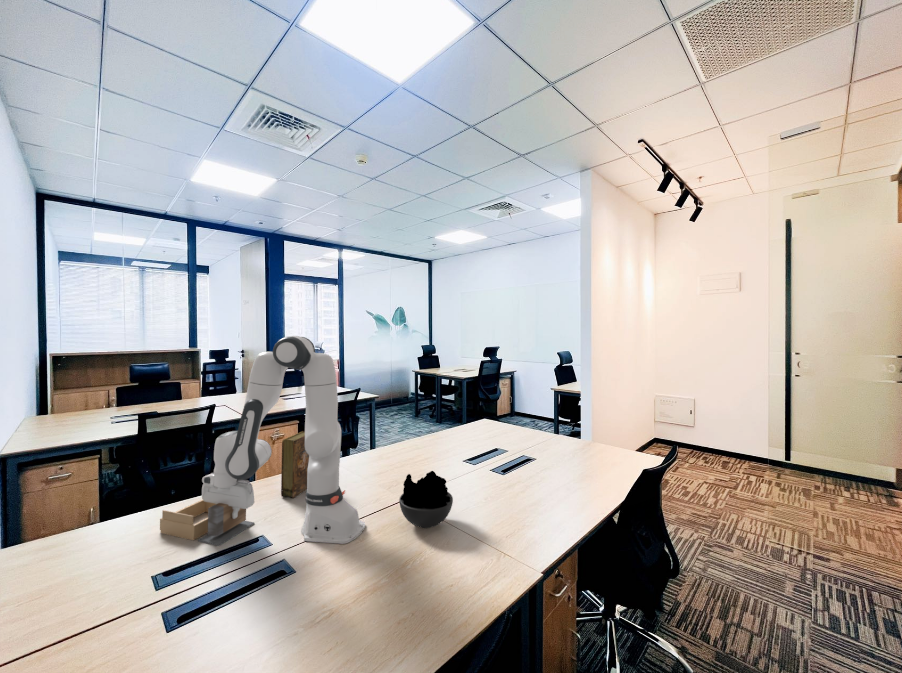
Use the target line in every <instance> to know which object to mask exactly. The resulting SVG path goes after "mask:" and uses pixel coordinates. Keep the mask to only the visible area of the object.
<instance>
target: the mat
mask: <svg viewBox="0 0 902 673" xmlns="http://www.w3.org/2000/svg"><path fill="white" fill-rule="evenodd" d="M254 525H255V522H254V521H248V520H245V521H243V522H241V523H239V524H238V525H236V526H234V527H233V528H231V529H229V530H227V531H226V532H224V533H222V534H220V535H219V536H212V535H208V533H206V534H204V535H202V536H200V537H199V538H197V542H200V543H204V544H208V545H214V546H218V547H220V546H221V545H222V544H224V543H226V542H228V541H229V540H231V539H232V538H234V537H235V536H238V534H241V533H242V532H244V531H246V530H248V529H249V528H251V527H252V526H254Z"/></svg>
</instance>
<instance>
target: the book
mask: <svg viewBox="0 0 902 673" xmlns="http://www.w3.org/2000/svg"><path fill="white" fill-rule="evenodd" d="M308 463H309V455H308V453H307V452H306V450H305V430H302V431H300V432H298V433H295V434H293V435H291V436H288V437H286V438H283V439H282V441H281V471H280V472H281V477H280V479H281V480H280V481H281V482H280V486H281V487H280V489H281V490H280V495H281V498H285V497H289V498H291V499H295V498H296V497H298V496H299V495H300V493H301V494H303V493H304V492H306V490H307V469H308ZM303 491H304V492H303Z"/></svg>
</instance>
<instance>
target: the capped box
mask: <svg viewBox="0 0 902 673" xmlns="http://www.w3.org/2000/svg"><path fill="white" fill-rule="evenodd" d="M233 511H234V509H233V507H231V506H228V504H223V503H218V504H216V505H214V506H212V507H210V508H208V512H207V518H208V533H207V534H208V535H212V536H219V535H220V534H222V533H224V532H226V531H227V530H229V529H231V528H233V527H234V526H236V525H238V524H239V523H241V522H243V521H247V509H242V508H240V509H239V511H238V516H237V518H235V519H233V518H230V514H231V513H233Z"/></svg>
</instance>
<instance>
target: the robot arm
mask: <svg viewBox="0 0 902 673" xmlns="http://www.w3.org/2000/svg"><path fill="white" fill-rule="evenodd" d="M254 358H255V359H254V361H253V362H252V363H253V364H252V366H251V370H250V373H249V377H248V384H247V388H246V389H247V390H246V396H245V401H244V405H243V408H242V414H241V416H240V420H239V424H238V428H237V430H232V431H228V432H227V431H226V432H225V433H222V434H220V435H219V436H218V437H217V438H216V439H215V443H214V448H213V449H214V450H213V461H214V464H215V465H214V469H213V472H211V473H210V474H206V475H205V476H203V477H202V479H201V482H202V483H203V484H202V487H201V500H202V499H203V501H204V502H209V503H215V504H218V503H223V504H228V506H231V507H233V509H234V511H233V513H231V514H230V518H233V519H235V518H237V516H238V511H239V509H240V508H242V509H246V510H247V509H248V508H250V507H252V506H253V505H254V504H255V492H254V487H253V484H252V483H251V482H250V480H248V479H250V478H252V477H253V476H254V475H255V473H256V472H257V471H258V470H259V469H260V468H261V467H263V466H264V465H265V464H266V463H267V462H268V461H269V460H270V458H271V456H272V453H273V450H272V447H271V445H270V443H269V442H268V441H267V440H265V439H262V438H261V439H260V438H259V435H260V430H261V425H262V422H263V420H264V419H265V417H266V416H267V414H268V413H269V412H270V411H271V410H272V409H273V408H274V407H275V405H277V403H278V402H279V399H280V396H281V395H282V390H283V383H284V377H285V375H286V374H285V373H286V372H287V370H288V369H293V370H298V371H302V372H303V377H304V393H305V395H304V396H305V415H304V416H305V417H304V418H305V419H304V421H305V422H304V431H305V450H306V452H307V453H308V455H309V463H308V469H307V489H306V490H305V503H306V506H305V514H304V515H305V516H304V518H303V519H304V521H303V524H302V527H301V534H302V535H303V541H305V542H311V543H312V542H314V543H315V542H316V543H328V544H340V545H341V544H343V545H344V544H348V543H350V542H352V541H354V540H355V539H356V538H358V537H359V536H360V535H361V534H362V533H363V532H364V531H363V530H365V529H366V523H365V521H362V520H360V517H359V512H358V510H357V508H355V507H354V506H353V505H351V503H350V502H348V501H347V499H345V498H344V495H345V494H346V490H343V491H342V489H341V487H340V463H341V460H340V459H341V446H342V427H341V425H340V422H339V421H338V411H339V410H338V409H339V408H338V407H339V400H338V398H339V397H338V396H339V395H338V383H337V374H336V373H337V372H336V369H335V368H336V367H335V363H334V360H333V357H332V356H331V355H329V354H327V353H322V352H318V353H317V352H316V348H315V345H314V343H313V342H312V340H310V339H309V338H307V337H304V336H301V335H290V336H285V337H283V338H281V339H278V341H277V342H276V343H275V344H274V346H273V349H272V351H263V352H260V353H258V354H257V355H256V356H255V357H254ZM364 528H365V529H364ZM362 531H363V532H362Z"/></svg>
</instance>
